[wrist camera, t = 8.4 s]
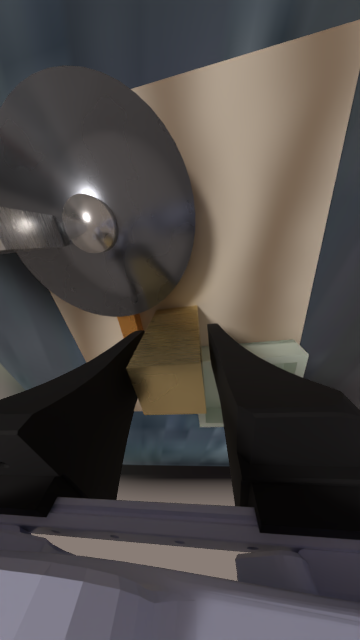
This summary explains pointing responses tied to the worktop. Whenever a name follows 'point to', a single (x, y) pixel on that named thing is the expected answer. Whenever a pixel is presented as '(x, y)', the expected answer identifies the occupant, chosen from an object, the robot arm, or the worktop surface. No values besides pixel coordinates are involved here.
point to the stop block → (170, 364)
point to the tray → (274, 352)
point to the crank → (93, 193)
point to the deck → (251, 185)
